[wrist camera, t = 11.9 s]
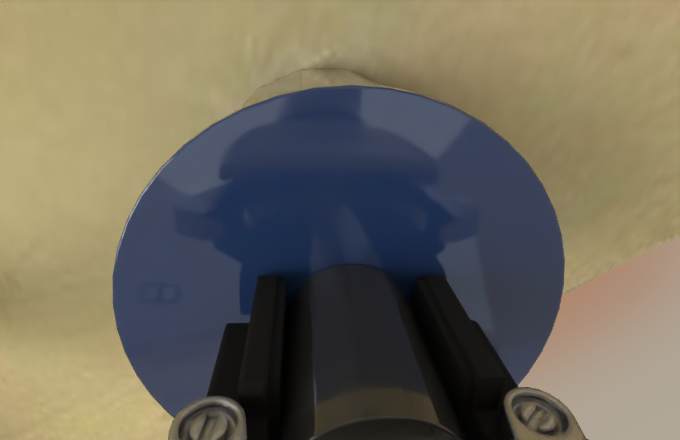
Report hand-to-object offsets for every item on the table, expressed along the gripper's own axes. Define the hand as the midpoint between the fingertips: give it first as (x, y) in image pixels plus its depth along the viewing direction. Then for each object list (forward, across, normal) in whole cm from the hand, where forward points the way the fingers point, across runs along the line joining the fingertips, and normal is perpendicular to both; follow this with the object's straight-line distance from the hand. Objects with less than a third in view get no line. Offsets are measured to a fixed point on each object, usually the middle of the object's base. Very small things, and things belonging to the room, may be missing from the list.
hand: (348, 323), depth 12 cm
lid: (+1, 0, 0) cm, 1 cm away
